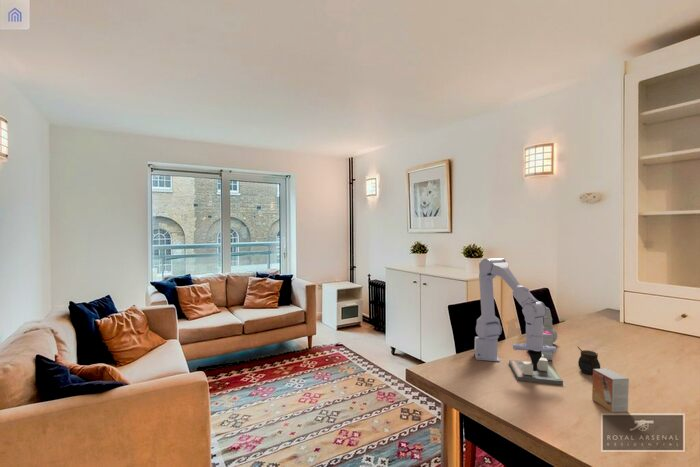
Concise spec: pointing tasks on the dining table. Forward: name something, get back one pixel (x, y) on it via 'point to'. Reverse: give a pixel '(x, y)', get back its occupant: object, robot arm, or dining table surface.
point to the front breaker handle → (527, 368)
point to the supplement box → (547, 344)
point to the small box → (610, 390)
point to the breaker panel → (535, 374)
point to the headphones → (549, 325)
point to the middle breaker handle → (542, 364)
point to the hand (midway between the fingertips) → (534, 370)
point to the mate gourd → (588, 361)
